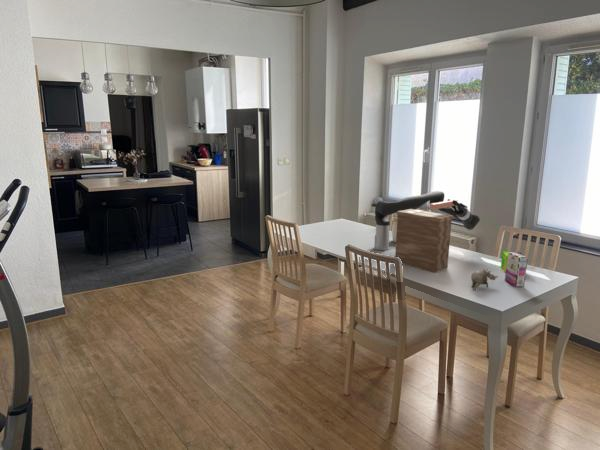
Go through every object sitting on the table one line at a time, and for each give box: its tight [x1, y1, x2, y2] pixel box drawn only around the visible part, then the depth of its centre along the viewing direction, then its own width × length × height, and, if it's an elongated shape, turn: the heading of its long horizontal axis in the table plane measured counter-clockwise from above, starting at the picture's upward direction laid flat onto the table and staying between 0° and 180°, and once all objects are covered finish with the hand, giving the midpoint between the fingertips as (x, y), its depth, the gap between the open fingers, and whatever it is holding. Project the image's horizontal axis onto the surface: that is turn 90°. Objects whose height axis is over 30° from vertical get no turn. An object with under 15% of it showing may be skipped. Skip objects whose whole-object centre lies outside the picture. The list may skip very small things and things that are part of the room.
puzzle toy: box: [500, 251, 525, 273], centre depth 260 cm, size 10×10×10 cm
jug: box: [390, 216, 398, 243], centre depth 324 cm, size 15×16×25 cm
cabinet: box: [394, 209, 454, 273], centre depth 266 cm, size 15×29×32 cm, turn 42°
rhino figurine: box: [471, 268, 499, 292], centre depth 231 cm, size 8×14×15 cm
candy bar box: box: [504, 251, 529, 288], centre depth 236 cm, size 11×5×16 cm, turn 5°
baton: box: [429, 199, 458, 211], centre depth 262 cm, size 26×3×3 cm, turn 132°
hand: (450, 201), depth 267 cm, fingers closed on baton, 3 cm apart
